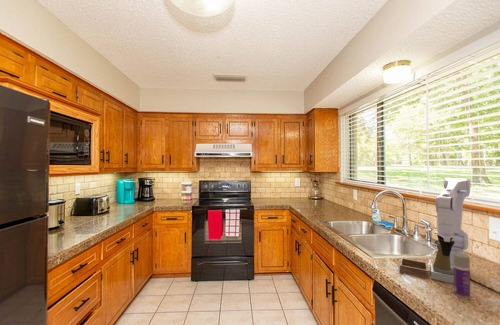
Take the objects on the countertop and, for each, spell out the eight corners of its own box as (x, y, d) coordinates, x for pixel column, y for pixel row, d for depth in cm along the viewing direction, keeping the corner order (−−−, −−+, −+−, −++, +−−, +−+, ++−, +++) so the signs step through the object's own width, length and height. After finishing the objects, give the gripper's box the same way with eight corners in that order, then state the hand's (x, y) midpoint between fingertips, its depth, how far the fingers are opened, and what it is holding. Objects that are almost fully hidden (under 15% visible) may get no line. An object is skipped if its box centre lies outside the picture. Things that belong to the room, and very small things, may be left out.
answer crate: (430, 269, 115) (430, 263, 115) (460, 275, 109) (460, 269, 109) (431, 278, 106) (431, 271, 106) (464, 285, 100) (464, 278, 100)
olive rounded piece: (435, 268, 107) (437, 243, 107) (432, 263, 112) (434, 239, 112) (452, 272, 104) (455, 247, 104) (448, 266, 110) (450, 242, 109)
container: (465, 298, 90) (465, 258, 90) (451, 292, 94) (450, 254, 95) (472, 296, 92) (472, 256, 92) (458, 290, 96) (457, 252, 96)
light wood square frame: (400, 263, 122) (400, 257, 122) (427, 269, 116) (427, 262, 116) (399, 271, 113) (399, 265, 113) (428, 277, 107) (428, 271, 107)
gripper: (433, 219, 116) (433, 247, 116) (434, 225, 104) (435, 256, 104) (452, 221, 112) (452, 250, 112) (456, 227, 100) (456, 260, 100)
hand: (445, 253), depth 108 cm, fingers closed on olive rounded piece, 5 cm apart
